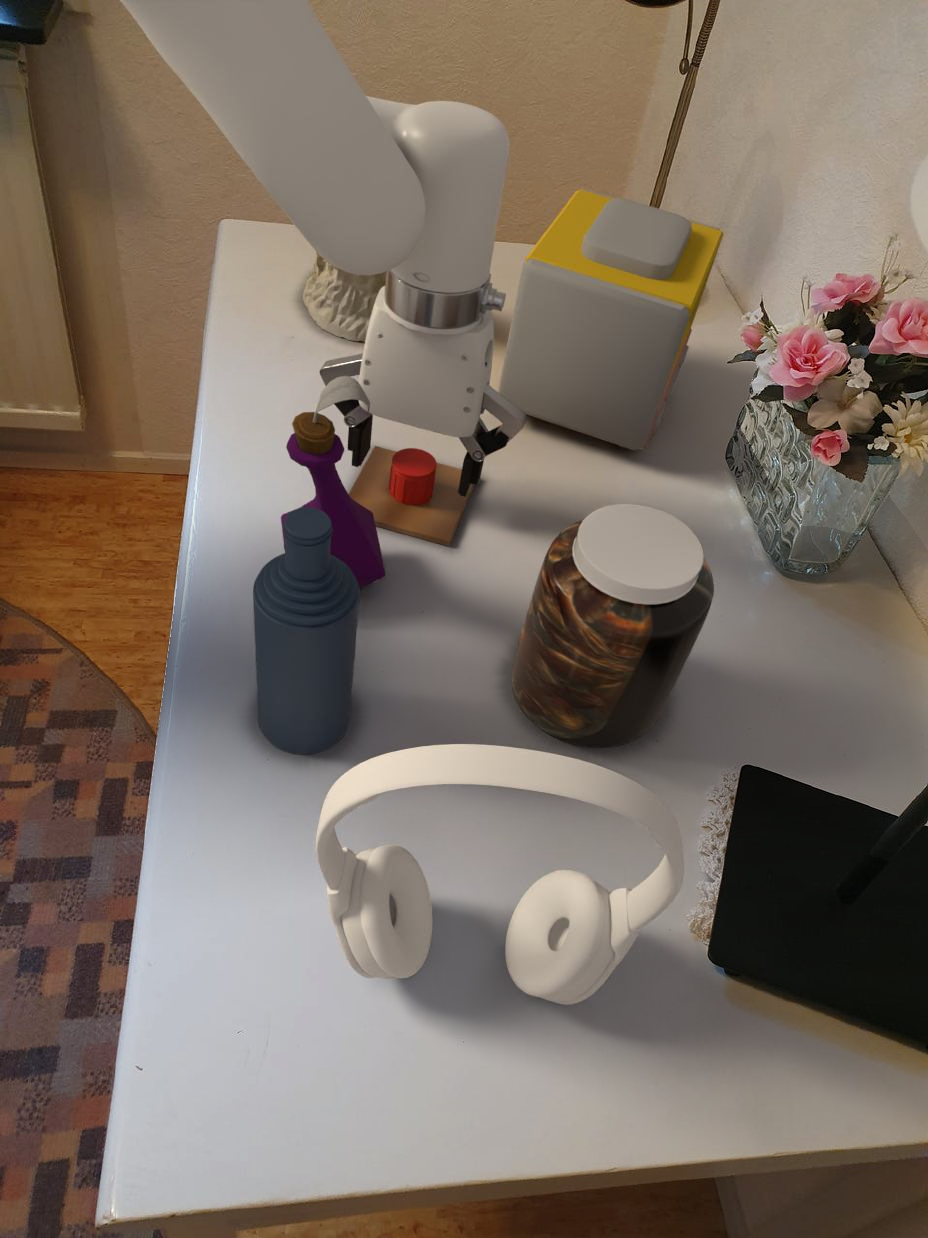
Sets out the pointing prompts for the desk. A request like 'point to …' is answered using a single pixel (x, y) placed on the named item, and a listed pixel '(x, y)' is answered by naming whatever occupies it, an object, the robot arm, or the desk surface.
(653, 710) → the jar
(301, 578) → the water bottle
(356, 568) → the perfume bottle
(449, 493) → the coaster
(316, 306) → the beige rough towered piece
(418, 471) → the cap
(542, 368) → the alarm clock
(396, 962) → the headphones
